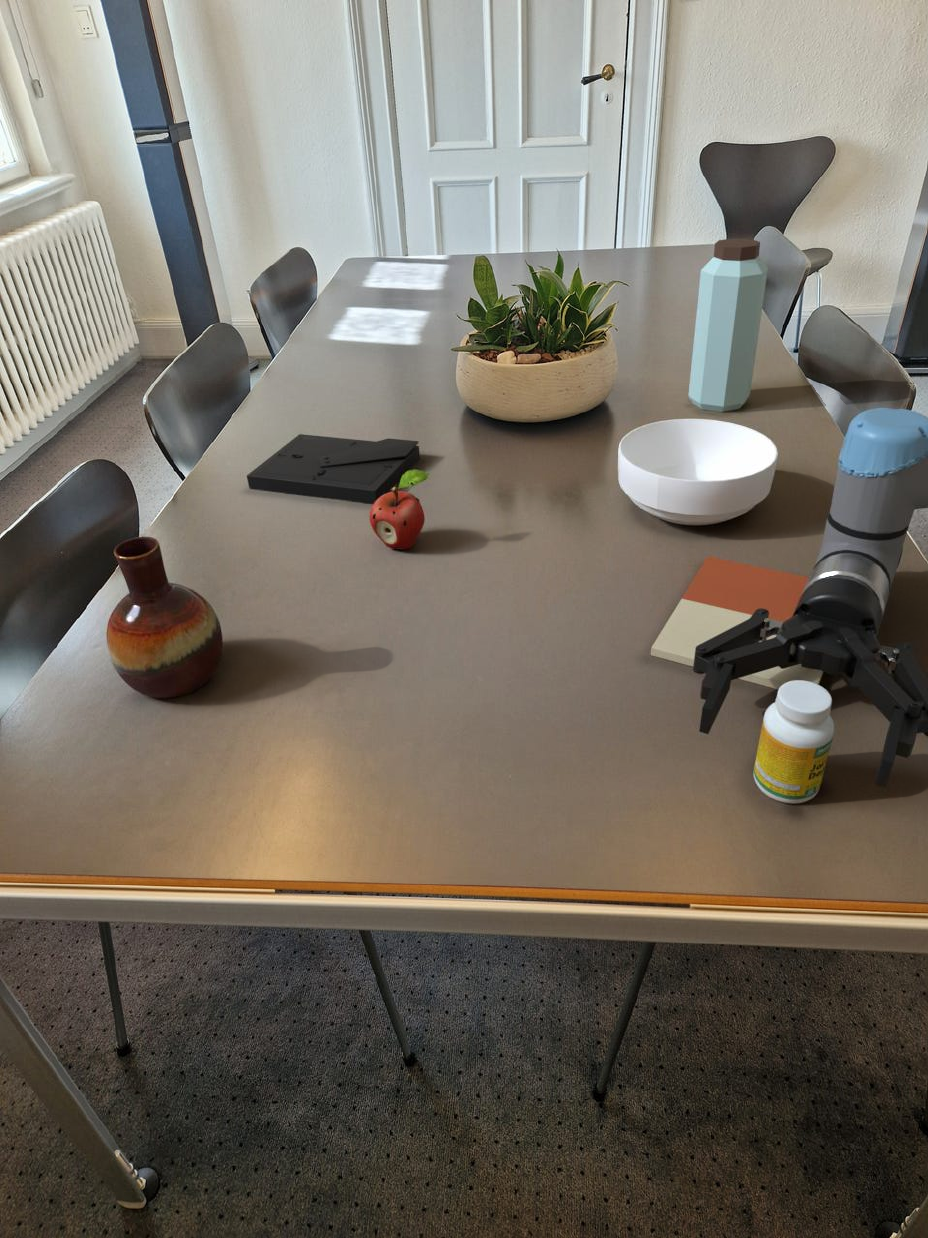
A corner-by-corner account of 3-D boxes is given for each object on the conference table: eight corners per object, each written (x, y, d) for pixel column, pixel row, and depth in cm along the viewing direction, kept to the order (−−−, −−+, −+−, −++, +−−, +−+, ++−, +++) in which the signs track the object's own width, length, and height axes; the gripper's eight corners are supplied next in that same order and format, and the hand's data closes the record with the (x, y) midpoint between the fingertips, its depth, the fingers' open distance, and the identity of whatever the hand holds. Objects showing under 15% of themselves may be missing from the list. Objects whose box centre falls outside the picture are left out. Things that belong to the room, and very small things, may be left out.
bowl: (792, 497, 113) (803, 437, 109) (727, 560, 101) (735, 496, 96) (660, 463, 124) (665, 408, 119) (587, 517, 112) (588, 457, 107)
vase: (176, 722, 82) (132, 589, 74) (98, 690, 87) (48, 562, 78) (252, 659, 90) (220, 532, 81) (176, 633, 95) (139, 510, 86)
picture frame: (420, 458, 130) (301, 446, 137) (418, 441, 129) (298, 429, 135) (376, 504, 118) (249, 488, 125) (374, 485, 117) (245, 470, 123)
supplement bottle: (762, 752, 75) (779, 666, 69) (826, 773, 72) (849, 686, 67) (744, 791, 71) (760, 704, 66) (810, 815, 69) (833, 726, 63)
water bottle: (712, 387, 148) (729, 233, 134) (761, 401, 142) (785, 240, 127) (675, 403, 143) (689, 244, 129) (724, 418, 137) (745, 252, 122)
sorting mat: (850, 593, 94) (852, 586, 94) (813, 699, 80) (815, 691, 80) (707, 563, 101) (707, 555, 100) (650, 655, 87) (651, 647, 86)
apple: (388, 564, 105) (379, 491, 99) (364, 542, 110) (355, 471, 104) (442, 546, 108) (436, 473, 102) (417, 525, 113) (410, 455, 107)
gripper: (975, 674, 78) (954, 834, 64) (707, 610, 89) (636, 734, 74) (999, 607, 74) (984, 761, 59) (715, 548, 85) (642, 666, 70)
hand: (790, 746), depth 67 cm, fingers open, 13 cm apart
